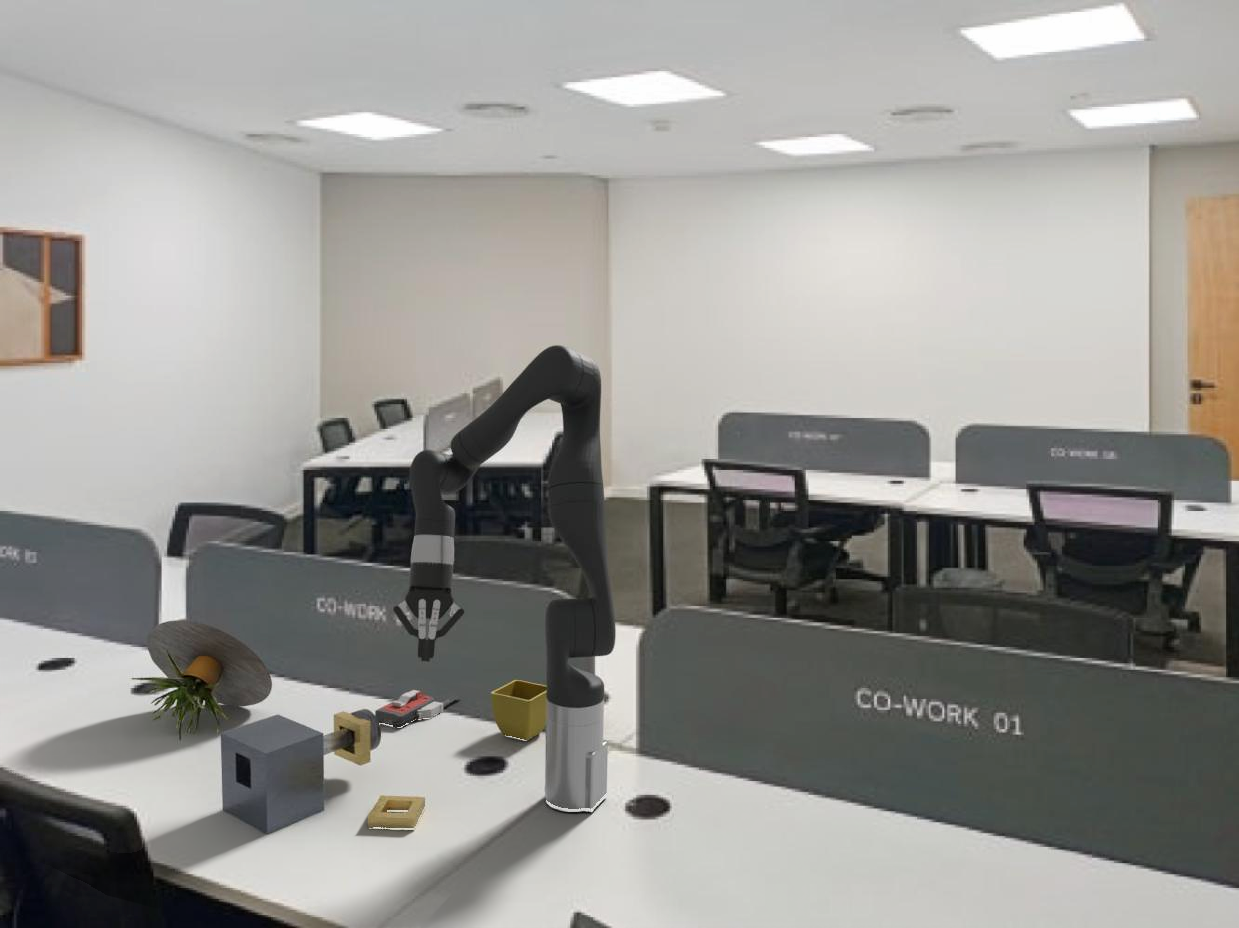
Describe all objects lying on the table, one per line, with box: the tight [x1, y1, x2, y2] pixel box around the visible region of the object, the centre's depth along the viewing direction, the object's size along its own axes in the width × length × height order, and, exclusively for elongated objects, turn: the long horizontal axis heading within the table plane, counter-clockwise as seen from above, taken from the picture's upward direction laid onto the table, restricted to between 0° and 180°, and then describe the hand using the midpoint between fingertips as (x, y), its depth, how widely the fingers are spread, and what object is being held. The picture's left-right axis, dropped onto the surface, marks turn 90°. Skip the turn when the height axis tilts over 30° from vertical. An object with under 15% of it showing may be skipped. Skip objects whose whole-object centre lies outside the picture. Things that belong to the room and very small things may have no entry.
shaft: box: [323, 708, 382, 756], centre depth 158 cm, size 20×7×7 cm, turn 143°
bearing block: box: [220, 714, 325, 835], centre depth 152 cm, size 10×12×12 cm
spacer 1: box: [333, 710, 371, 767], centre depth 164 cm, size 2×7×7 cm, turn 52°
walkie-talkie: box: [374, 689, 450, 729], centre depth 195 cm, size 9×4×20 cm
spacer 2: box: [367, 795, 426, 828], centre depth 151 cm, size 7×7×2 cm
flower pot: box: [490, 679, 547, 740], centre depth 184 cm, size 9×9×9 cm
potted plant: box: [131, 619, 273, 741], centre depth 184 cm, size 25×18×25 cm
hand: (424, 661), depth 172 cm, fingers closed
